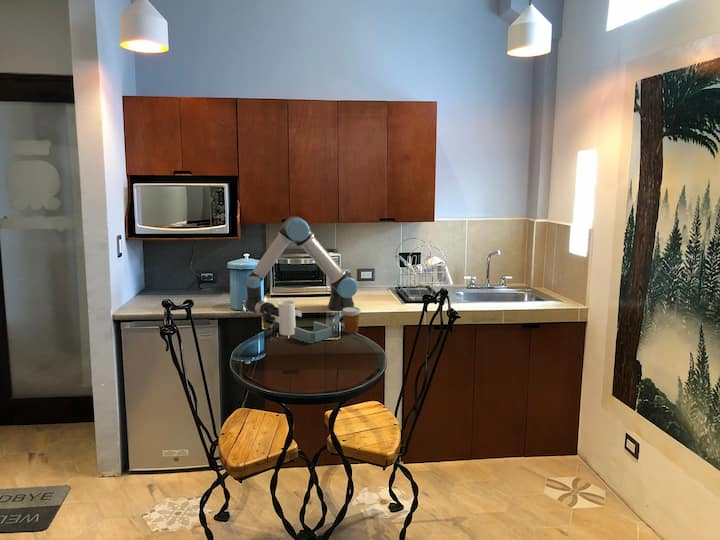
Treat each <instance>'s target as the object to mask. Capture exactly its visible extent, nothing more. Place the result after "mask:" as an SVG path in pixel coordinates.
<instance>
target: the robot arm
mask: <svg viewBox="0 0 720 540" xmlns="http://www.w3.org/2000/svg"><path fill="white" fill-rule="evenodd" d="M277 234H278V235H277V236H276V237H275V238H274V240H273V242H271V244H270V246H269V247H268V248H267V250H266V251H265V252H264V254H263V256H261V258H260V259H259V261H258V263H256V265H255V267H253V269H252V270H251V272H250V273H249V274H248V275H249V276H248V275H247V276H248V277H247V276H246V277H247V278H246V277H245V280H244V283H245V285H246V298H245V300H244V302H243V306H244V309H245V310H246V311H248V312H250V313H254V314H257V315H260V317H262V318H263V320H264V321H266V322H267V321H268V322H276V323H278V324H279V323H280V317H279V316H277V315H279V309H278V306H275V304H273V303H272V302H268V301H264V300H262V282H263V280H264V279H265V277H266V276H267V274H268V273H269V272H270V270H271V269H272V268H273V266H274V265H275V263H276V262H277V261H278V259H279V258H280V256H281V255H282V254H283V252H284V251H285V249H286V248H287V246H289V244H290V243H294V244H295V245H296V246H297V247H298V248H299V247H301V248H302V249H303V250H304V252H306V254H307V255H308V256H309V257H310V258H311V259H312V260H313V262H314V263H315V264H316V265H317V266H318V268H320V270H321V271H322V272H323V273H324V274H325V275H326V277H327V278H328V281H329V284H330V298H329V302H328V304H327V305H328V306H327V307H328V309H329V310H331V311H335V310H343V309H344V308H347V307H355V303H354V300H353V296H355V295H356V293H357V292H358V290H359V289H358V287H359V285H358V281H356V279H355V278H353V276H352V275H351V274H352V273H351V269H349V268H341V266H340V265H339V264H338V263H337V262H336V261H335V260H334V258H333V257H332V255H330V253H328V251H327V250H326V249H325V248H324V246H323V245H322V244H321V243H320V242H319V241H318V240H317V238H316V237H315V231H313V230H312V228H311V227H310V226H309V224H308V222H307V221H306V220H304V219H303V218H301V217H300V216H297V215H293V216H292V215H291V216H289V217H288V218H287V219H285V221H284V222H283V224H282V225H281V227H280V229H279V230H278V231H277ZM302 313H303V312H302V310H298V308H297V307H295V317H296V316H297V317H300V318H302V317H303V316H302V315H303V314H302Z"/></svg>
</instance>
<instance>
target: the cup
mask: <svg viewBox="0 0 720 540" xmlns="http://www.w3.org/2000/svg"><path fill="white" fill-rule="evenodd" d="M295 303H296V302H295V301H293V300H281V301H278V306H277V308H278V309H279V314H278V317H280V323H278V326H279V328H278V329H279V335H281V336H294V328H295V327H297V326H296V315H295V308H296V307H295V306H296V304H295Z"/></svg>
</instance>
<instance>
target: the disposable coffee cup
mask: <svg viewBox="0 0 720 540" xmlns="http://www.w3.org/2000/svg"><path fill="white" fill-rule="evenodd" d="M341 313H342V318H343V324H344V331H345V332H344V333H346V334H347V335H354V334H357V333H358V332H359V323H360V322H359V321H360V316H361V315H360V314H361V310H360V308H358V307H355V306H354V307H347V308H344V309H343V310H342V311H341Z"/></svg>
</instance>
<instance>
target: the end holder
mask: <svg viewBox="0 0 720 540" xmlns="http://www.w3.org/2000/svg"><path fill="white" fill-rule="evenodd" d="M312 325H313V330H306V329H304V328H301V327H298V326H296V327H295V328H294V334H293V336H292V338H293V339H295V340H298V341H301V342H303V341H304V343H306V342H308V343H307V344H309V343H314V342H317V343H319V342H318V341H320V342H322V340H323V341H326V340H329V339H332V338H335V337H337V335H336V334H335V327H334V326H332V325H329V324H325V323H322V322H319V321H313V322H312ZM328 338H329V339H328ZM314 344H315V343H314Z"/></svg>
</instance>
